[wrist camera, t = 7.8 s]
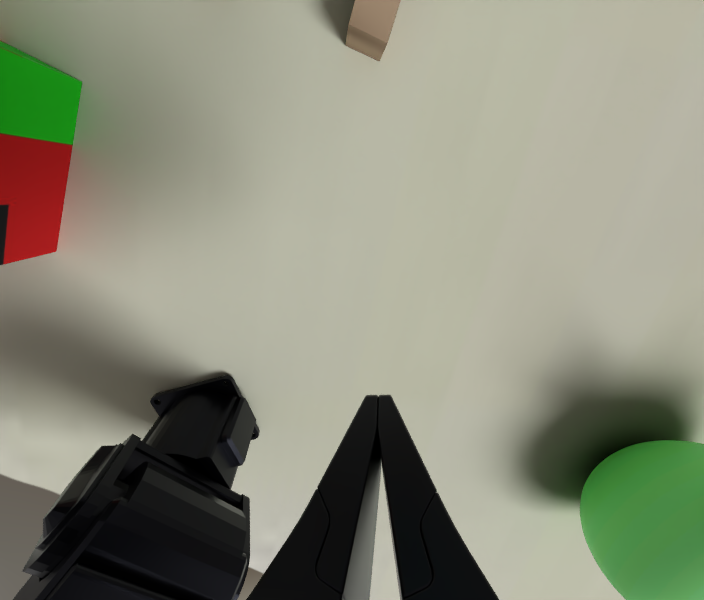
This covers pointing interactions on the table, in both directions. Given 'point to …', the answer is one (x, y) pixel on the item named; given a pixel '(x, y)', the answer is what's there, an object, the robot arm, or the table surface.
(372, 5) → the chute
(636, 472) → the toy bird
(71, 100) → the puzzle toy
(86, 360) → the table surface
